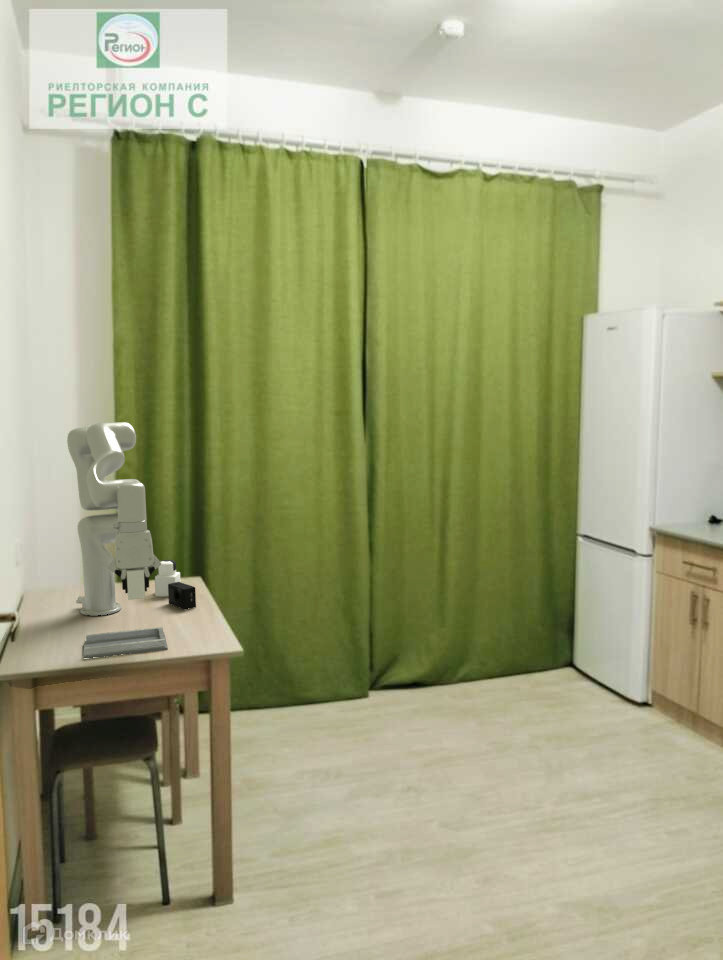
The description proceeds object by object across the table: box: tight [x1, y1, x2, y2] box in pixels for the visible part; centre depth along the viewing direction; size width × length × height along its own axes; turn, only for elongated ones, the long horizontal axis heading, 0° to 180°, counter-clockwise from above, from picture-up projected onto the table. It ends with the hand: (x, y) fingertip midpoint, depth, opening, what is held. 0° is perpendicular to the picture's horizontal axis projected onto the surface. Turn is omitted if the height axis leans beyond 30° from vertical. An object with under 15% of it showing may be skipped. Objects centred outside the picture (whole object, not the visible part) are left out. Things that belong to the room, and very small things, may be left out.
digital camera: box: [168, 581, 197, 610], centre depth 251 cm, size 10×5×7 cm, turn 44°
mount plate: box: [82, 633, 169, 659], centre depth 212 cm, size 22×14×1 cm, turn 108°
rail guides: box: [85, 626, 166, 656], centre depth 212 cm, size 21×12×2 cm, turn 108°
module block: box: [126, 568, 146, 601], centre depth 211 cm, size 4×7×8 cm, turn 18°
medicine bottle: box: [154, 559, 182, 598], centre depth 266 cm, size 7×7×12 cm
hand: (136, 590), depth 212 cm, fingers closed on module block, 4 cm apart
